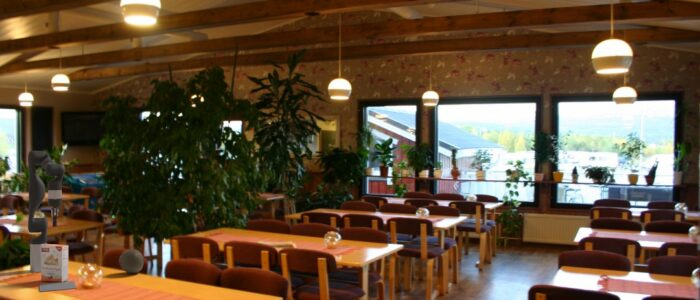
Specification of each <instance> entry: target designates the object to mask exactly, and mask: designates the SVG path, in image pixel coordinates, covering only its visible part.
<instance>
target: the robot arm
mask: <svg viewBox="0 0 700 300" xmlns="http://www.w3.org/2000/svg"><path fill="white" fill-rule="evenodd" d="M36 166H41V168H42V169H43V170H44V171H45V175H47V176H48V177H56V178H53V179H51V180H49V181H48V184H47V186H48V188H47V189H48V191H47V206H49V207H52V208H50V211H51V215H50V216H51V218H52V219H51V221H52V227H53V228H56V227H58V216H59V210H60V209H59V208H58V207H59V206H62V205H63V193H62V189H63V187H62V185H63V184H62V183H63V178H64V175H65V173H66V167H65V165H64V164H62V163H56V161H54V160H52V158H51V156H50V154H49V153H48V152H47V151H44V150H29V151H28V154H27V167H28V217H27V230H28V231H27V232H28V233H30V234H37V233H39V235H38V236H35V237H33V238H31V239H30V242H29V243H30V245H29V247H30V250H29V251H30V255H29V257H30V259H29V261H30V262H29V263H30V264H29V271H30V272H31V273H41V260H42V245H47V244H48V227H49V226H48V225H49V223H48V222H49V221H48V218H47V217H35V215H36V212H37V210H38V208H39V207H40V205H41V204H42V203H43V201H44V199H45V198H46V197H45V196H46V186H45V183H44V181H43V180H42V179H41V177H40V176H39V174H38V173H37V170H36Z"/></svg>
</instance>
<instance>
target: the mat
mask: <svg viewBox="0 0 700 300" xmlns="http://www.w3.org/2000/svg"><path fill="white" fill-rule="evenodd" d="M76 289H77V287H76V282H75V280H67V281H64V282H47V283H45V282H43V283H39V293H44V292H45V293H46V292H55V291H56V292H57V291H66V290H76Z"/></svg>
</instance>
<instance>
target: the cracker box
mask: <svg viewBox="0 0 700 300" xmlns="http://www.w3.org/2000/svg"><path fill="white" fill-rule="evenodd" d="M40 273H41V275H40V276H41V277H40V278H41V282H51V283H55V282H66V281H69V245H68V244H55V243H54V244H51V243H47V245H42V260H41V272H40Z"/></svg>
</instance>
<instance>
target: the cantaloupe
mask: <svg viewBox="0 0 700 300" xmlns="http://www.w3.org/2000/svg"><path fill="white" fill-rule="evenodd" d="M118 263H119V266H120V267H121V269H122V270H123V271H124V272H125V273H128V274H136V273H139V272H140V271H141V270H142V269H143V267H144V255H143V254H142V252H140V251H139V250H138V249H133V248H132V249H128V250H127V249H126V250H124V251H122V253H121V255H119V258H118Z"/></svg>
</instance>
